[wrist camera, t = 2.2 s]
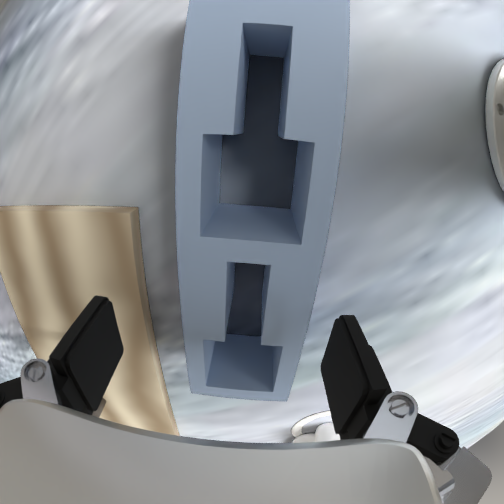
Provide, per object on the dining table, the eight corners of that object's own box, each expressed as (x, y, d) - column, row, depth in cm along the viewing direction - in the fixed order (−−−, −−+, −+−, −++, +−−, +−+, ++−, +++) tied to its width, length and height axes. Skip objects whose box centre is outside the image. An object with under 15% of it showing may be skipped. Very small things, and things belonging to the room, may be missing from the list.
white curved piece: (298, 445, 28) (299, 471, 25) (273, 421, 26) (273, 452, 22) (365, 426, 26) (371, 453, 23) (353, 397, 24) (360, 430, 20)
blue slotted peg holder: (325, 18, 10) (349, -20, 6) (283, 347, 20) (286, 401, 15) (215, 10, 11) (195, -31, 6) (204, 340, 20) (190, 392, 15)
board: (138, 207, 16) (69, 261, 9) (183, 447, 29) (174, 491, 23) (-6, 206, 16) (-62, 238, 9) (83, 418, 29) (67, 454, 23)
